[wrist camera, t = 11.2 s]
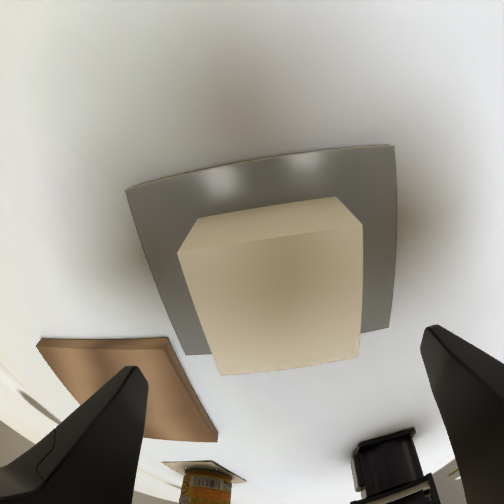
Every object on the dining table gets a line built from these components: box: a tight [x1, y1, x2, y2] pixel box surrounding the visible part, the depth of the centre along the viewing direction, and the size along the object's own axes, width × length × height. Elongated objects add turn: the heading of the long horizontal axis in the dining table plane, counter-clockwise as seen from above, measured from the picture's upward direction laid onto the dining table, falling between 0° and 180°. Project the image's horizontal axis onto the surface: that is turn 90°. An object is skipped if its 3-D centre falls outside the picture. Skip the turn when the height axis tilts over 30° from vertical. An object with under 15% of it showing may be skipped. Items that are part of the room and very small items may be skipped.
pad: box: [125, 145, 397, 355], centre depth 14 cm, size 12×10×1 cm
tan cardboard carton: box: [177, 196, 363, 375], centre depth 12 cm, size 6×6×4 cm
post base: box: [36, 338, 218, 442], centre depth 16 cm, size 12×12×7 cm
